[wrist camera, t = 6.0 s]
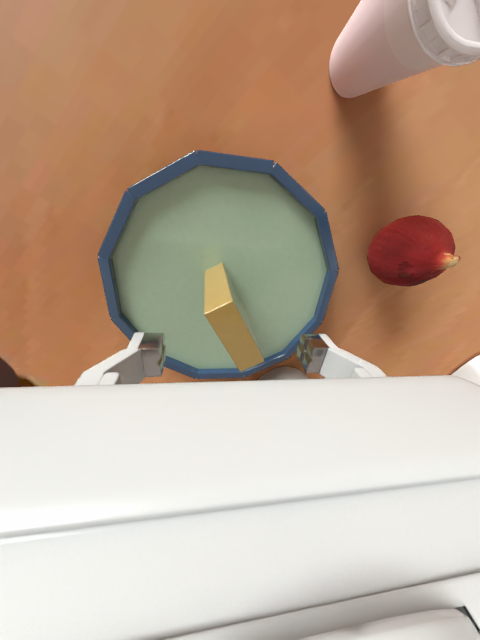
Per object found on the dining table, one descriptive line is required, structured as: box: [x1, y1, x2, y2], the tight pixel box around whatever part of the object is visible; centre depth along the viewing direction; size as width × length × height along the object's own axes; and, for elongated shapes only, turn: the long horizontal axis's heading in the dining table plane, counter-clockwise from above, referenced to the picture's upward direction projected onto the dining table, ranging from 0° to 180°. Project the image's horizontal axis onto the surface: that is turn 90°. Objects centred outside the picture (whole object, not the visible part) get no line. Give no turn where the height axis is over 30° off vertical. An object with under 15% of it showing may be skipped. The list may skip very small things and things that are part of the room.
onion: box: [367, 215, 460, 286], centre depth 19 cm, size 6×6×8 cm
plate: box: [98, 150, 339, 379], centre depth 17 cm, size 20×20×9 cm
